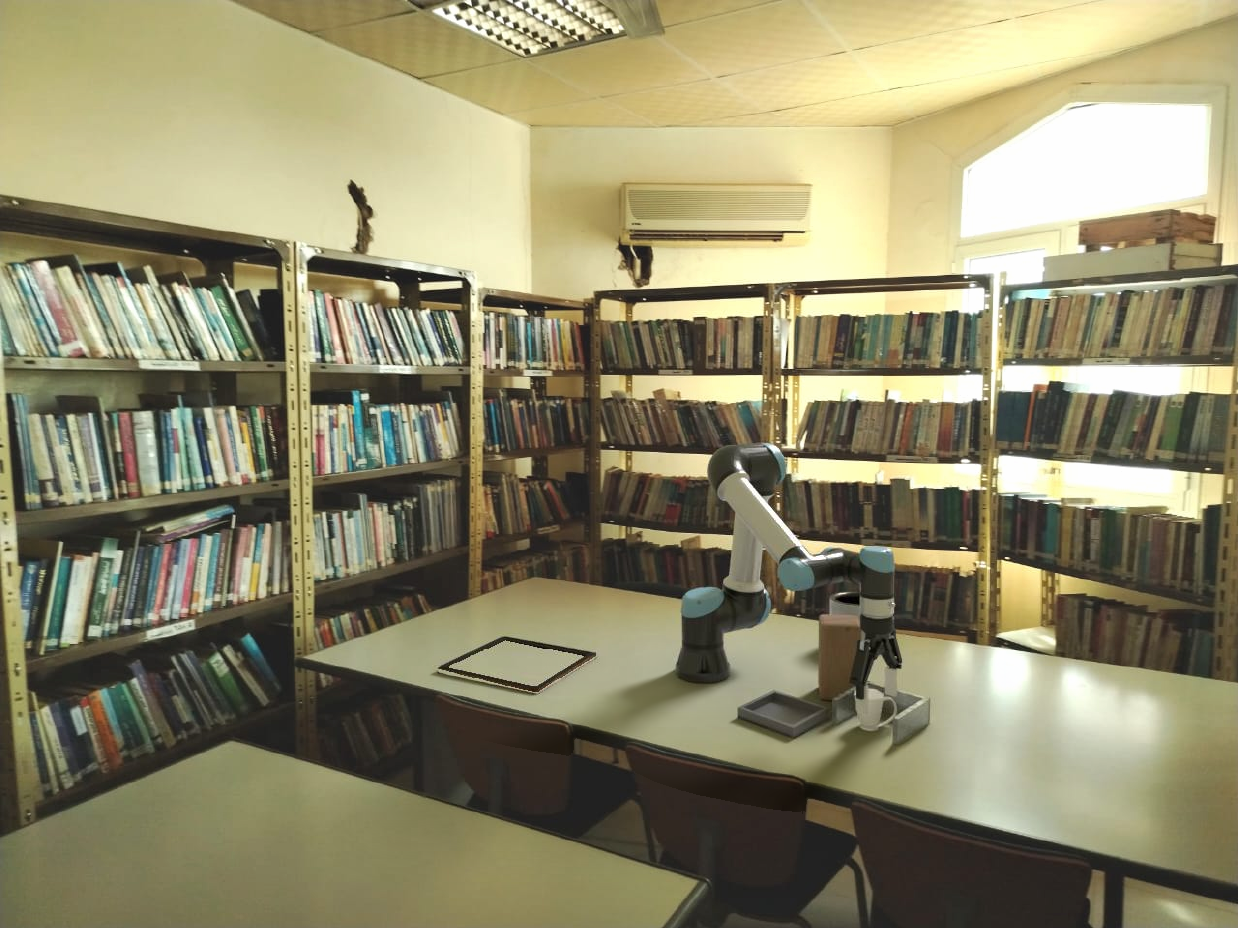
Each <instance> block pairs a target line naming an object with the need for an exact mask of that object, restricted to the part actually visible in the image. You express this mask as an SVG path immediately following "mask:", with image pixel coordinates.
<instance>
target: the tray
mask: <svg viewBox="0 0 1238 928" xmlns="http://www.w3.org/2000/svg"><path fill="white" fill-rule="evenodd" d="M737 719H740V720H742V721H745V722H748V723H750V724H753V725H756V726H759V727H761V728H764V729H766V730H769V731H772V732H775V733H777V734H780V735H783V736H785V737H788V738H791V739H796V738H797V737H800V736H801V735H803V734H805V733H806V732H808V731H810V730H812V729H813V728H814V729H815V727H817V726H819V725H821V724H822V723H824V722H825V721H827V720H829V719H830V708H829V707H828V706H825V705H821V704H818V703H815V702H811V701H809V700H806V699H803V698H799V697H796V696H794V695H793V696H792V695H791V694H787V693H785V692H781V691H779V690H774V689H773V690H771V691H768V693H765V694H763V695H761V696H758V697H756V698H755V699H752V700H750V701H748V702H746V703H745V704H742V705H740V706H738V707H737Z"/></svg>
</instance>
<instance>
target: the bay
mask: <svg viewBox="0 0 1238 928" xmlns="http://www.w3.org/2000/svg"><path fill="white" fill-rule="evenodd" d="M866 685H868V689H876V690H878V691H880V692H882V693H884V697H890V698H892V699H893V700H894V701H895V703H896V706H897V714H896V716H895V717H893V720H892V737H891V738H892V739H891V740H892V741H891V742H892V745H896V746H899V745H900V744H901V743H903V742H904V741H906V740H907V739H909V738H911V737H912V736H913V735H915V734H916V733H917V732H919V731H920V730H922V729H923V728H925V727H926V726H928V725H929V724H931V698H930V697H927V696H923V695H920V694H917V693H916V694H915V693H912V692H909V691H905V690H903V689H902V690H901V689H898V688H897V696H896V697H894V696H890V695H887V694H885V684H881V683H877V682H874V681H871V680H867V682H866ZM855 690H856V686H855V687H853V688H851V689H849V690H847V691H846V692H844V693H842V694H840V695H838V696H836V697H834V698H833V699H832V700H831V702H832V703H831V723H832V724H834V725H839V724H840V723H842V722H843V721H845V720H847V719H849V718H850V717H852V716H854V715H855V714H857V711H856V702H855V695H854V694H855ZM882 711H883V712H886V713H889V714H892V715H893V714H894V711H895V709H894V703H893V701H892V700H890V699H889V700H885V701H883V706H882Z"/></svg>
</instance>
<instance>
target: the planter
mask: <svg viewBox="0 0 1238 928" xmlns="http://www.w3.org/2000/svg"><path fill="white" fill-rule="evenodd" d="M829 614H832V615H855V616H857V617H858V619H859V622H860V615H861V612H860V591H841V592H836V593H832V594H831V595H830V596H829ZM862 640H863V641H864V640H865V633H864V632H863V631H862Z"/></svg>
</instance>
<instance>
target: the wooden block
mask: <svg viewBox="0 0 1238 928" xmlns="http://www.w3.org/2000/svg"><path fill="white" fill-rule="evenodd" d="M858 640H862V630H861V629H860V622H859V619H858V617H857V616H855V615H832V614H830V613H829V614H826V613H823V614H820V615H819V616H818V675H817V676H818V680H817V681H818V682H817V683H818V684H817V685H818V691H819V696H820V699H821V700H823V701H832V699H833V698H834V697H836V696H838V695H840V694H842V693H844V692H846V691H847V690H849V689H851V688H853V687H855V686H856V685H855V684H852V683H850V676H851V672H852V668H853V663H854V659H855V655H856V651H857V641H858Z"/></svg>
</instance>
